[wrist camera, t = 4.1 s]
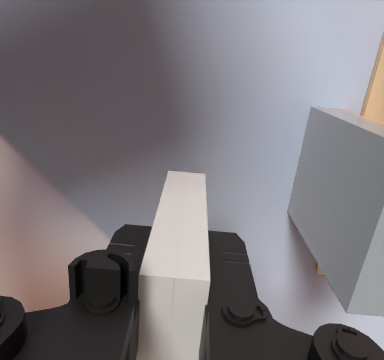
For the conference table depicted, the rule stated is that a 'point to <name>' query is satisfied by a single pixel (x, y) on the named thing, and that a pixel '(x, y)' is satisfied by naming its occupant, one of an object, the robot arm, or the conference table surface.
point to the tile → (343, 205)
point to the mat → (374, 97)
